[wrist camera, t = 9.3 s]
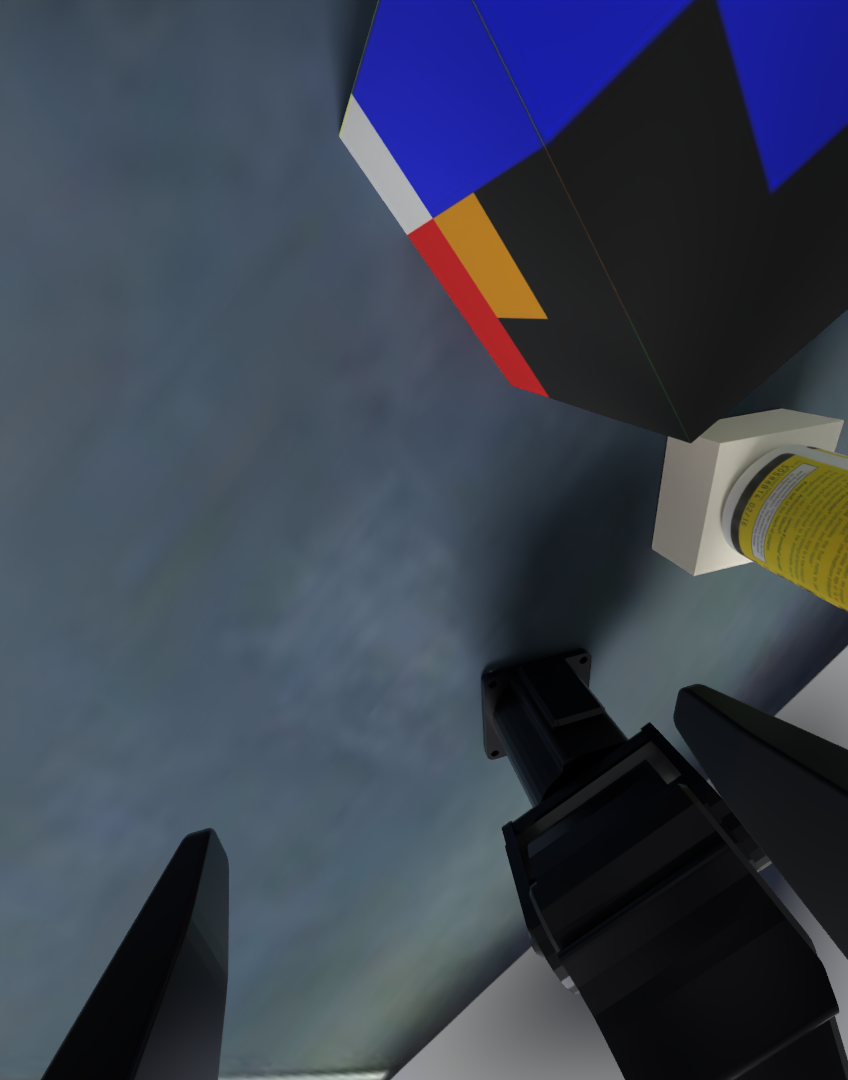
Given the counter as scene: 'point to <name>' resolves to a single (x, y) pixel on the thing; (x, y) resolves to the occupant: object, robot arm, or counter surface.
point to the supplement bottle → (794, 518)
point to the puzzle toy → (619, 186)
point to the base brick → (722, 481)
